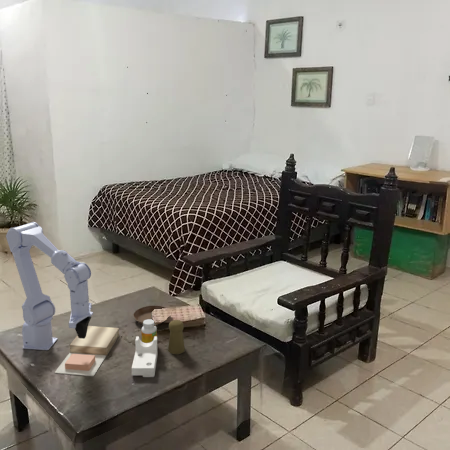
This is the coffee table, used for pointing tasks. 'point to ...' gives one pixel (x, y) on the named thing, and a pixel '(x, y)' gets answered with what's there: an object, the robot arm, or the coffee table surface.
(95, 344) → the beige flat block
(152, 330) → the supplement bottle
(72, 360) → the tile
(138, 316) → the saucer
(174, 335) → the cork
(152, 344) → the bracket
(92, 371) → the mat
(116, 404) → the coffee table surface
